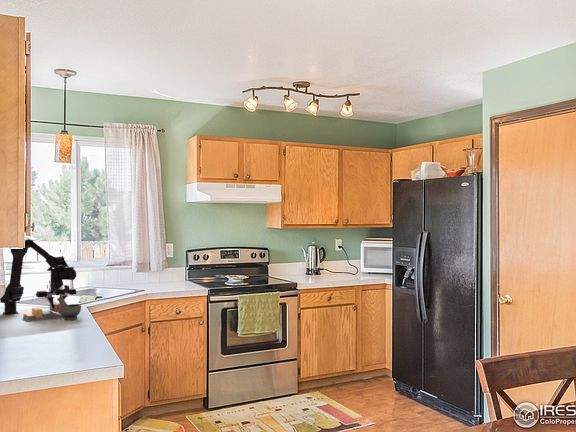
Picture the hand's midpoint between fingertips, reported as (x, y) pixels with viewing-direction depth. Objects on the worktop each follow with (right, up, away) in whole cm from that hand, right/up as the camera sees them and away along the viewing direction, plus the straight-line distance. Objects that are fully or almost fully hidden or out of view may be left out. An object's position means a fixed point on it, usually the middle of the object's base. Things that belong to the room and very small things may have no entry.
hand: (56, 309), depth 267 cm
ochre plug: (-7, -3, -6) cm, 10 cm away
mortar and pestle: (+11, -4, -9) cm, 15 cm away
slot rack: (-4, -4, -3) cm, 6 cm away
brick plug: (-1, -1, +1) cm, 1 cm away
